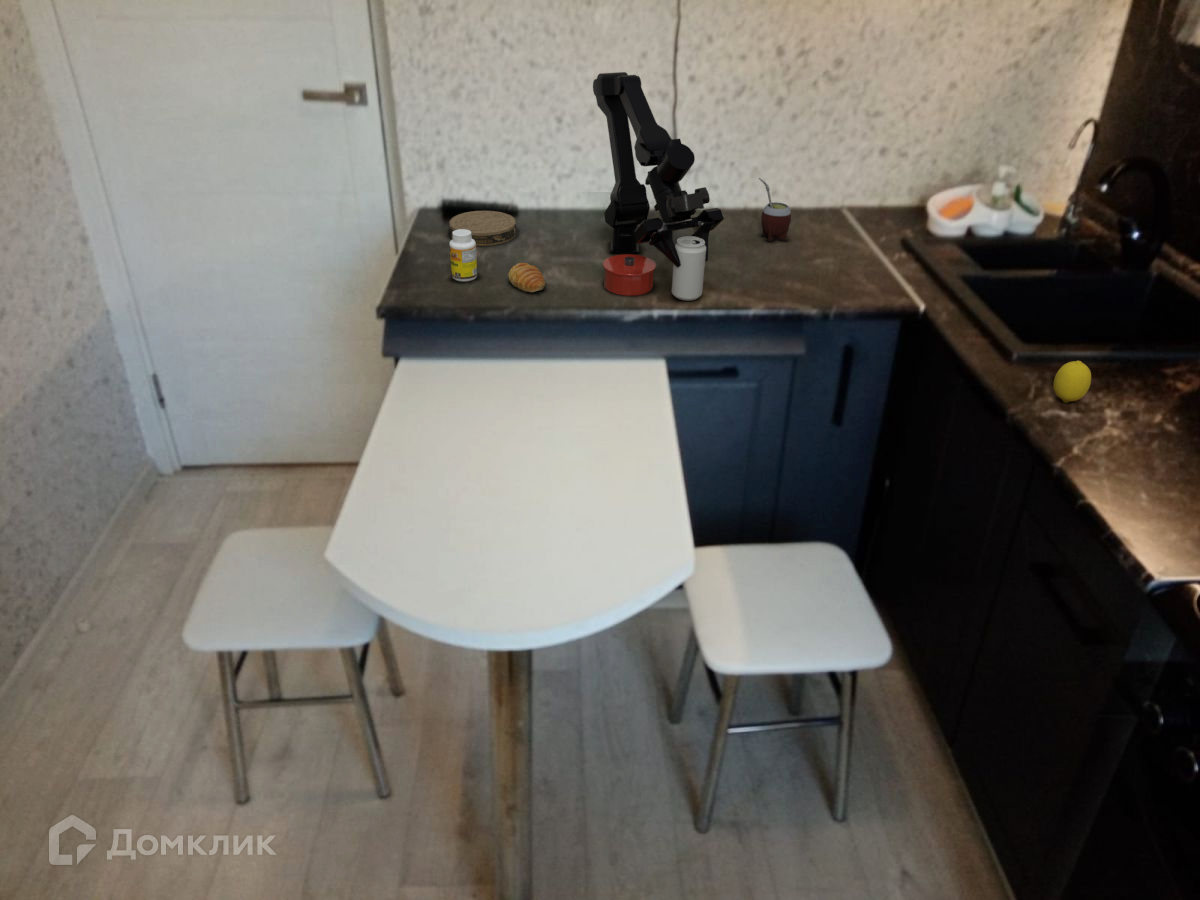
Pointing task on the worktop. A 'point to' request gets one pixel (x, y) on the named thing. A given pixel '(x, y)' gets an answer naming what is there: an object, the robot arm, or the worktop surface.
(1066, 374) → the lemon
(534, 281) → the pastry
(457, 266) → the supplement bottle
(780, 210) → the mate gourd
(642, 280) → the pot
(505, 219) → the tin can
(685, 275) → the beverage can
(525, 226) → the worktop surface
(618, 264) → the pot lid
